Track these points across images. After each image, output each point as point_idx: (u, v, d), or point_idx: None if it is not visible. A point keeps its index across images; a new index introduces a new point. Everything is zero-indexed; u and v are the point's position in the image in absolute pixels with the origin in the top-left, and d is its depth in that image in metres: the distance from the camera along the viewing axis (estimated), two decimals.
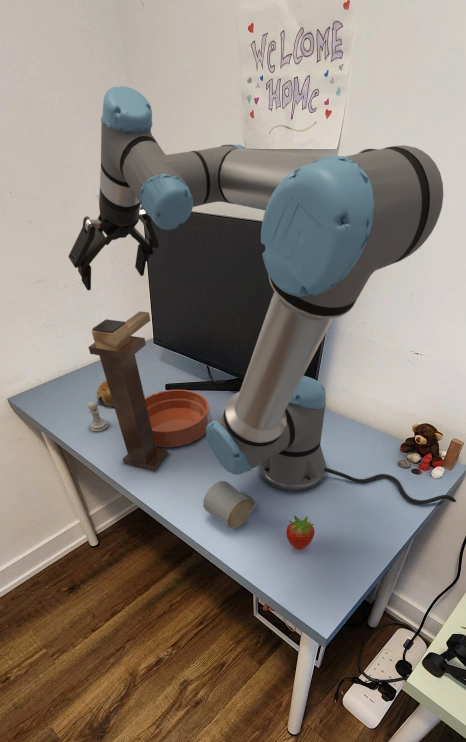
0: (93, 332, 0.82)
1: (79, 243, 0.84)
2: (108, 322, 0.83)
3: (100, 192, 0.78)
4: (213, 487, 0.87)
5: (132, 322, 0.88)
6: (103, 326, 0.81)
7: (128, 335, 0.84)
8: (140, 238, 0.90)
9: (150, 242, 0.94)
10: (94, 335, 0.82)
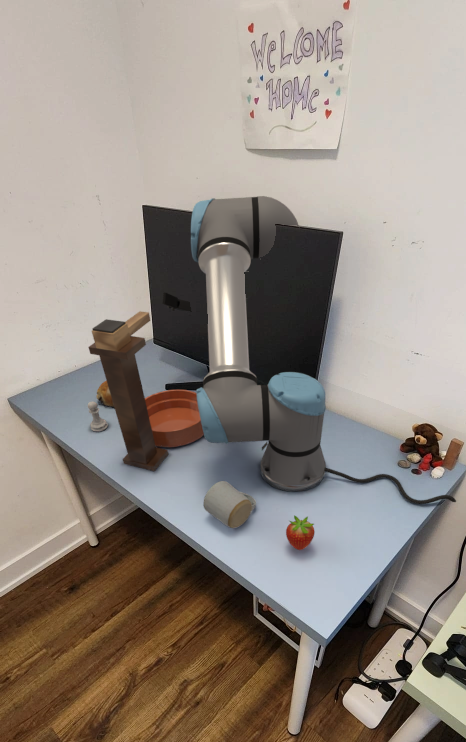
0: (93, 332, 0.82)
1: None
2: (108, 322, 0.83)
3: None
4: (213, 487, 0.87)
5: (132, 322, 0.88)
6: (103, 326, 0.81)
7: (128, 335, 0.84)
8: None
9: None
10: (94, 335, 0.82)
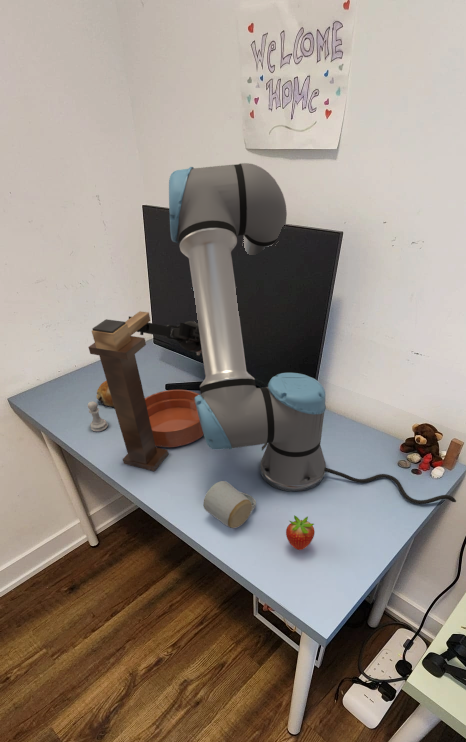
0: (93, 332, 0.82)
1: None
2: (108, 322, 0.83)
3: None
4: (213, 487, 0.87)
5: (132, 322, 0.88)
6: (103, 326, 0.81)
7: (128, 335, 0.84)
8: None
9: None
10: (94, 335, 0.82)
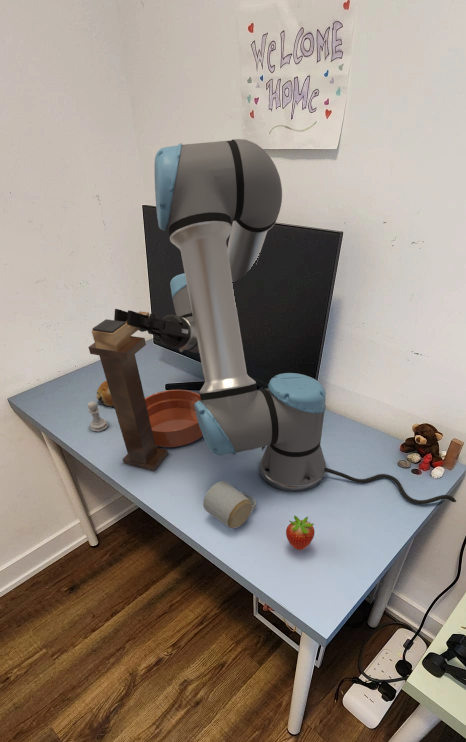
0: (93, 332, 0.82)
1: None
2: (108, 322, 0.83)
3: None
4: (213, 487, 0.87)
5: None
6: (103, 326, 0.81)
7: (128, 335, 0.84)
8: None
9: None
10: (94, 335, 0.82)
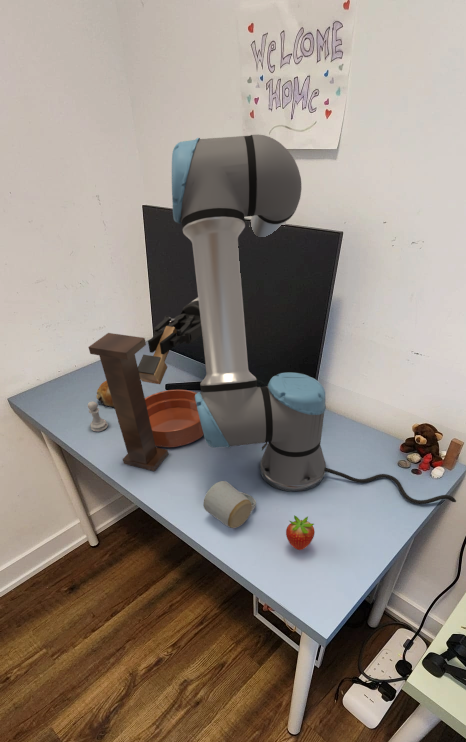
0: None
1: None
2: (146, 359, 0.98)
3: None
4: (213, 487, 0.87)
5: None
6: (144, 367, 0.97)
7: (165, 365, 0.99)
8: (186, 325, 1.05)
9: None
10: None
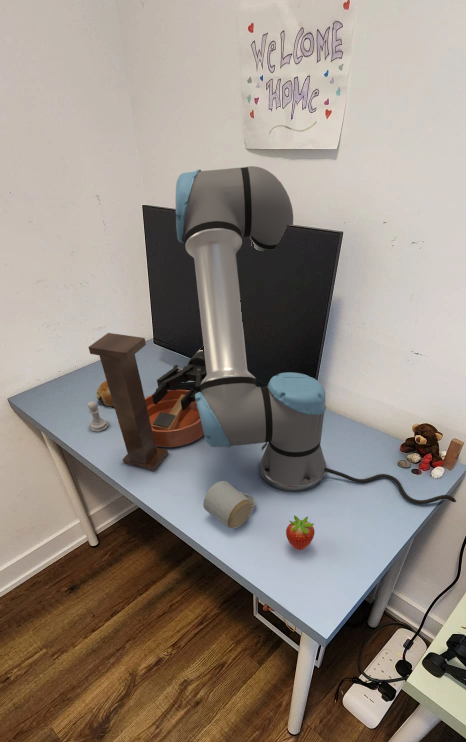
0: (153, 426, 1.10)
1: None
2: (163, 416, 1.11)
3: None
4: (213, 487, 0.87)
5: (179, 408, 1.16)
6: (160, 421, 1.10)
7: (178, 423, 1.13)
8: (199, 379, 1.16)
9: None
10: (154, 428, 1.11)
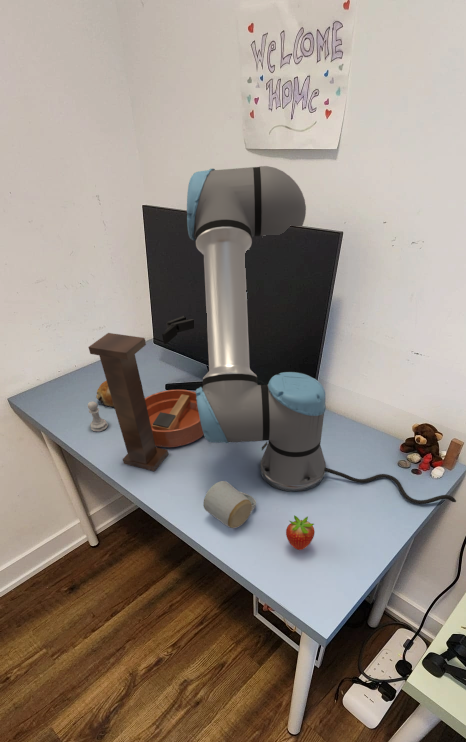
0: (153, 426, 1.10)
1: None
2: (163, 416, 1.11)
3: None
4: (213, 487, 0.87)
5: (179, 408, 1.16)
6: (160, 421, 1.10)
7: (178, 423, 1.13)
8: None
9: None
10: (154, 428, 1.11)
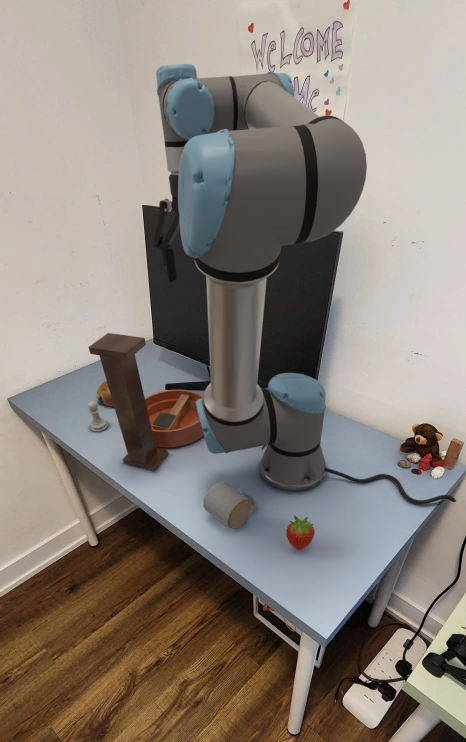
0: (153, 426, 1.10)
1: None
2: (163, 416, 1.11)
3: None
4: (213, 487, 0.87)
5: (179, 408, 1.16)
6: (160, 421, 1.10)
7: (178, 423, 1.13)
8: None
9: None
10: (154, 428, 1.11)
